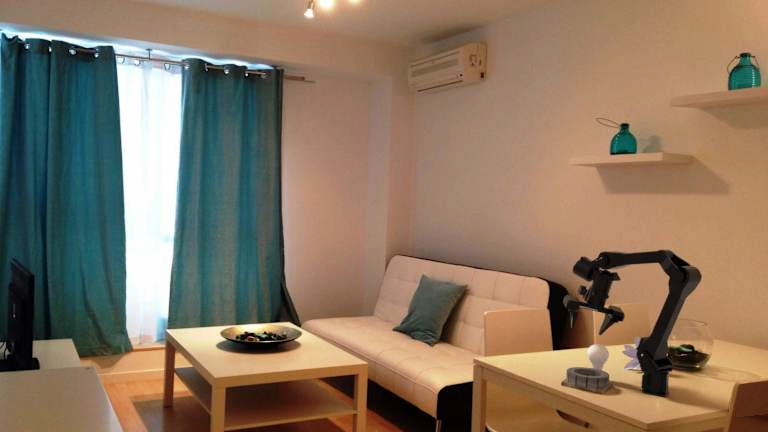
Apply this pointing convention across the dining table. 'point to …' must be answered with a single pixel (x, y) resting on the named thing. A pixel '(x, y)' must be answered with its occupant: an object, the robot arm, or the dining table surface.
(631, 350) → the water lily
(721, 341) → the dining table surface
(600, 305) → the robot arm
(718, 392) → the dining table surface
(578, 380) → the grey stone fire pit
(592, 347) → the lightbulb
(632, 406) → the dining table surface
